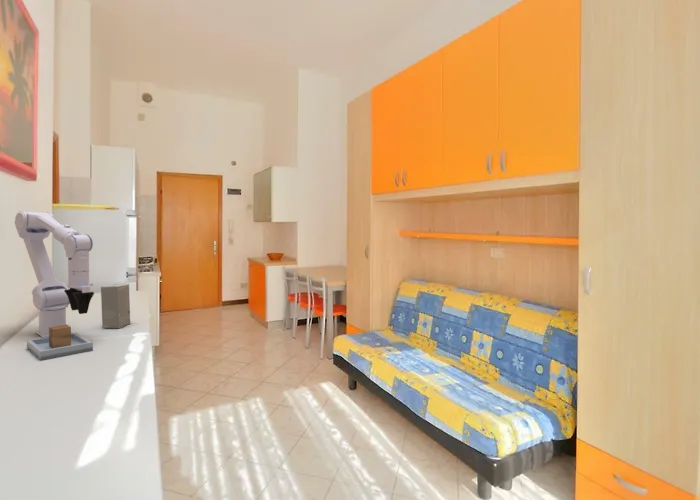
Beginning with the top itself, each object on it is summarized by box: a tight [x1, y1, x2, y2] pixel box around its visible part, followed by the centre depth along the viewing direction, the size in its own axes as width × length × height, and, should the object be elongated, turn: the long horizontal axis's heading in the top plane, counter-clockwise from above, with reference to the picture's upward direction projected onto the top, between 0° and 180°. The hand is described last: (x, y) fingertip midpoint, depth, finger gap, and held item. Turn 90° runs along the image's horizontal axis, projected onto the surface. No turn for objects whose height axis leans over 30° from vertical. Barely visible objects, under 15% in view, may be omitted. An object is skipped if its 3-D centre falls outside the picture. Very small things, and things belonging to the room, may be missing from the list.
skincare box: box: [100, 283, 131, 329], centre depth 152 cm, size 8×7×16 cm
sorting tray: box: [26, 332, 94, 361], centre depth 123 cm, size 16×13×2 cm
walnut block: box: [49, 323, 72, 349], centre depth 123 cm, size 4×4×6 cm
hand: (79, 311), depth 134 cm, fingers open, 7 cm apart
